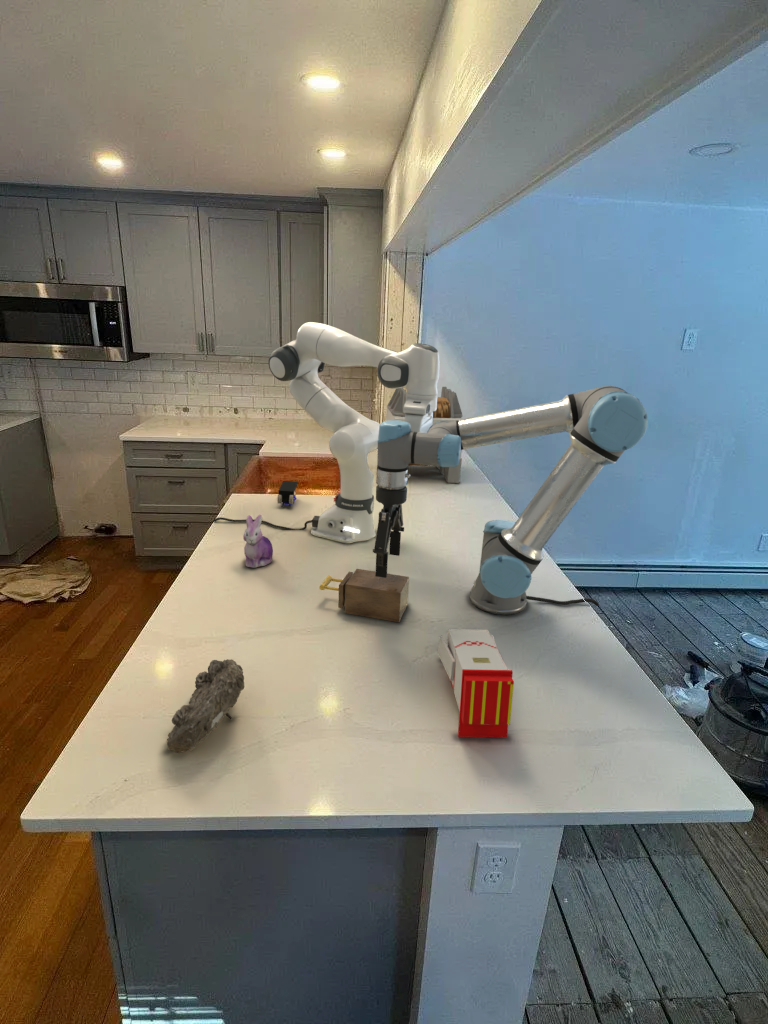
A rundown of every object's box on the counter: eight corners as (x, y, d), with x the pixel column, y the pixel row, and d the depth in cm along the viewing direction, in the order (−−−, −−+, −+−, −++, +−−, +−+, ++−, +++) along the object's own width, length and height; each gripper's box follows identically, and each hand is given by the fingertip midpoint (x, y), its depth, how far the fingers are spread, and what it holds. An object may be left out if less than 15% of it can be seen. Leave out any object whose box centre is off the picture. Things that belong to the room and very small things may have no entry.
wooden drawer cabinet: (344, 613, 147) (345, 584, 144) (356, 596, 156) (356, 568, 153) (399, 622, 143) (400, 593, 141) (407, 604, 152) (409, 576, 149)
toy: (488, 613, 130) (523, 677, 101) (484, 667, 133) (517, 744, 104) (435, 612, 130) (455, 676, 101) (432, 666, 133) (451, 743, 103)
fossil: (192, 660, 117) (244, 628, 112) (224, 691, 120) (276, 661, 115) (142, 746, 98) (202, 712, 93) (182, 779, 101) (242, 748, 96)
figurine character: (294, 513, 219) (298, 496, 232) (293, 495, 215) (298, 479, 229) (276, 512, 219) (282, 496, 232) (276, 494, 215) (281, 479, 229)
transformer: (382, 463, 289) (386, 382, 275) (445, 464, 293) (451, 384, 279) (390, 482, 257) (394, 392, 243) (460, 483, 261) (468, 394, 247)
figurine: (247, 571, 167) (245, 523, 162) (239, 557, 175) (236, 512, 170) (278, 566, 171) (277, 519, 166) (269, 553, 179) (267, 508, 174)
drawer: (317, 604, 149) (317, 581, 147) (328, 589, 156) (328, 568, 154) (388, 616, 144) (389, 593, 142) (395, 601, 152) (397, 579, 150)
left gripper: (418, 397, 171) (416, 442, 176) (401, 407, 153) (399, 457, 157) (439, 399, 170) (436, 444, 174) (424, 409, 151) (421, 460, 156)
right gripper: (394, 502, 125) (390, 589, 132) (417, 473, 148) (412, 548, 155) (362, 498, 126) (359, 584, 134) (389, 470, 149) (386, 544, 156)
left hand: (418, 451), depth 166 cm, fingers open, 8 cm apart
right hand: (388, 565), depth 144 cm, fingers open, 13 cm apart
